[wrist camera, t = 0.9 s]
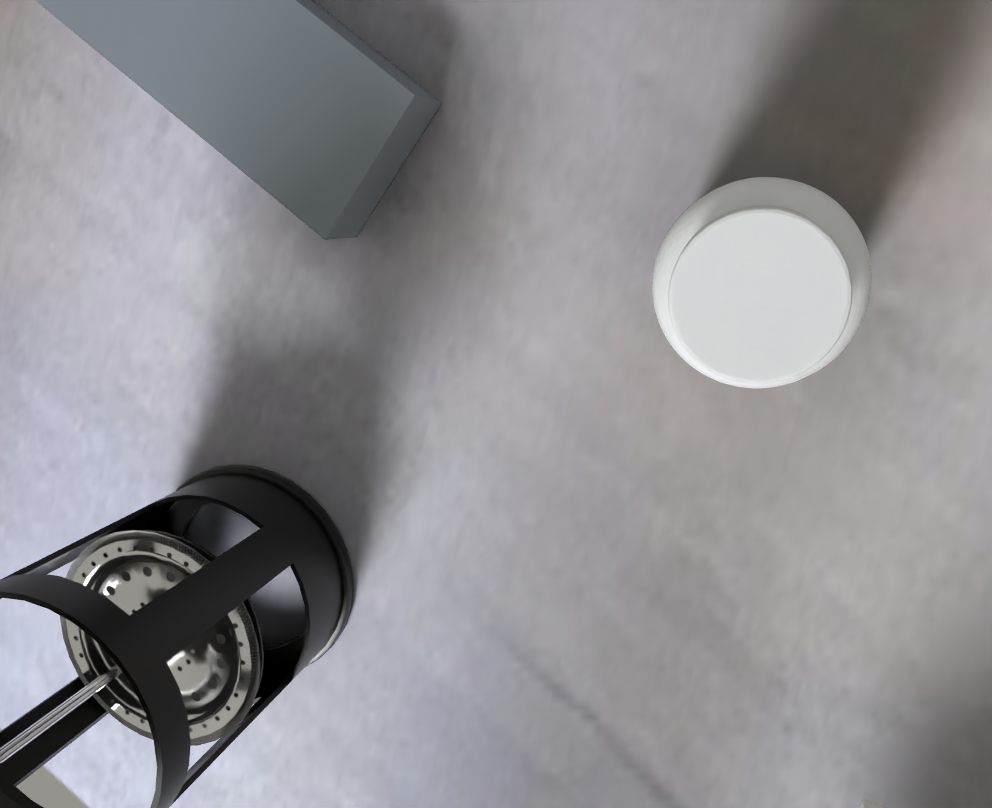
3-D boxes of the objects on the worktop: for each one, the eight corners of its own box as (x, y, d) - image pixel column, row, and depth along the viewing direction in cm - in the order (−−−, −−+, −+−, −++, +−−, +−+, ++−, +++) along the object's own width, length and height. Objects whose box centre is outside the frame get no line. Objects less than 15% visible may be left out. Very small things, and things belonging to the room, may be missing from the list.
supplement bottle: (853, 336, 28) (898, 404, 19) (684, 355, 29) (652, 425, 20) (839, 167, 27) (880, 152, 18) (665, 197, 28) (622, 196, 19)
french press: (264, 410, 35) (-529, 750, 13) (409, 591, 35) (-153, 1223, 13) (102, 561, 39) (-695, 1001, 18) (231, 721, 39) (-411, 1360, 18)
